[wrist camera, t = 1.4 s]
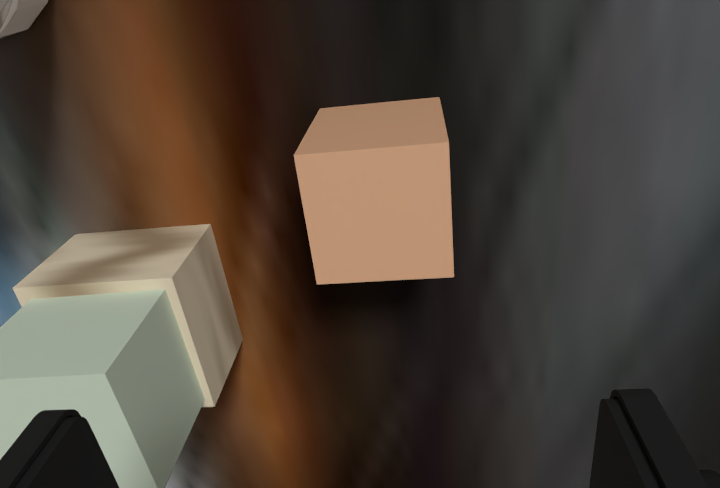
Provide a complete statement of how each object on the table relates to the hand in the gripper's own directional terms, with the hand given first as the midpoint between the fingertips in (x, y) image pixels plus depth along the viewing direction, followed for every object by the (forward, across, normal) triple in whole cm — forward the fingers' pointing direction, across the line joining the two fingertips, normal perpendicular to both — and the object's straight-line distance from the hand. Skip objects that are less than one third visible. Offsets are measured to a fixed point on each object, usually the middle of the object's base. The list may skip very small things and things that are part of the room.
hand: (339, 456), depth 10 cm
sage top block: (+11, +12, +6) cm, 17 cm away
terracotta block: (+16, 0, 0) cm, 16 cm away
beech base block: (+16, +12, +6) cm, 21 cm away
